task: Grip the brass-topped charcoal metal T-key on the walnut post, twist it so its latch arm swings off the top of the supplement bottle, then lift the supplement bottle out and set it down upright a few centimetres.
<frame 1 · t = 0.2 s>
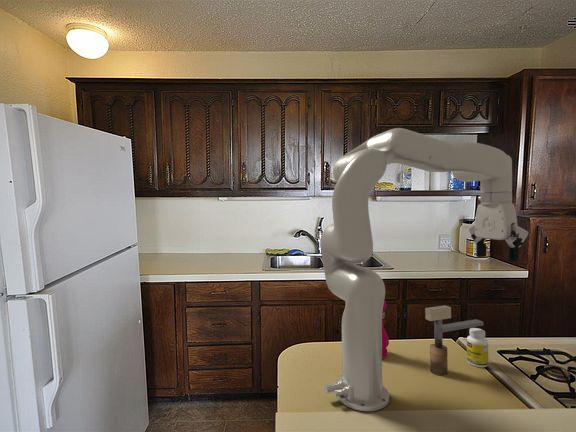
hand: (496, 259, 91), 31 cm above the worktop, tool pointing down, fingers open, 9 cm apart
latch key: (454, 324, 91), point 13 cm above the worktop, hinge at 0.0°
pepper mill: (377, 355, 100), on the worktop
supplement bottle: (477, 364, 93), on the worktop
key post: (438, 371, 89), on the worktop
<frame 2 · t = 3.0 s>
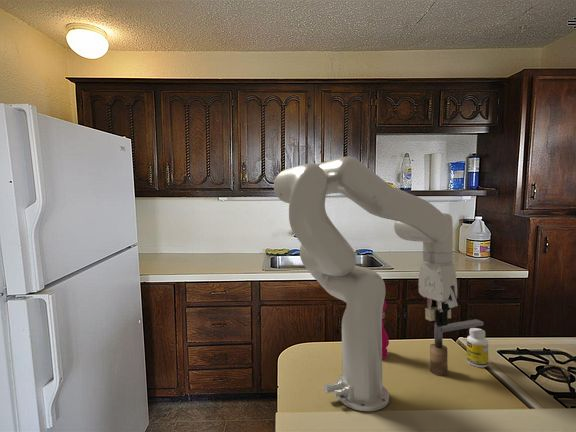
hand: (438, 323, 89), 14 cm above the worktop, tool pointing down, fingers closed on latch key, 2 cm apart
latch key: (454, 324, 91), point 13 cm above the worktop, hinge at 0.0°, touching gripper
everything else where it was.
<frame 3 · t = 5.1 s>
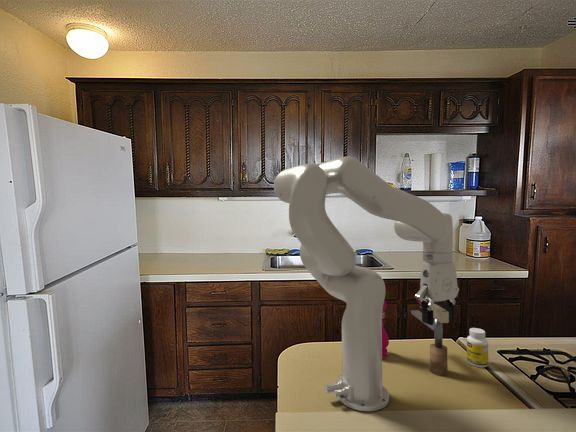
hand: (438, 320, 89), 14 cm above the worktop, tool pointing down, fingers open, 8 cm apart
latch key: (428, 319, 95), point 13 cm above the worktop, hinge at 74.8°
everything else where it was.
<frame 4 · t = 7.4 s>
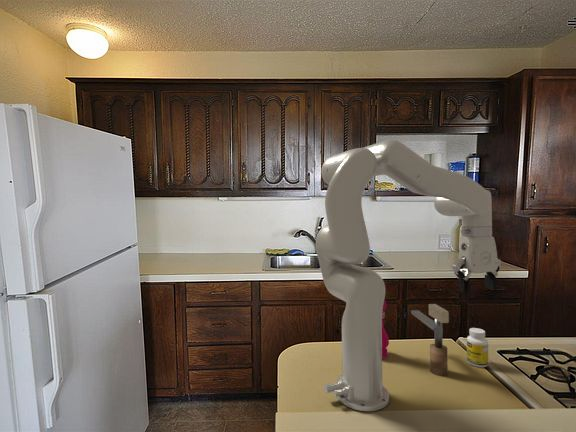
hand: (477, 291, 93), 21 cm above the worktop, tool pointing down, fingers open, 9 cm apart
nothing on the worktop moved.
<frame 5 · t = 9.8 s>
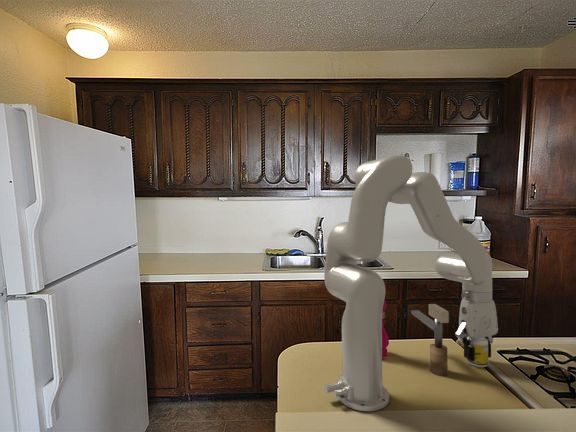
hand: (477, 356, 93), 2 cm above the worktop, tool pointing down, fingers closed on supplement bottle, 5 cm apart
supplement bottle: (477, 364, 93), on the worktop, touching gripper
everything else where it was.
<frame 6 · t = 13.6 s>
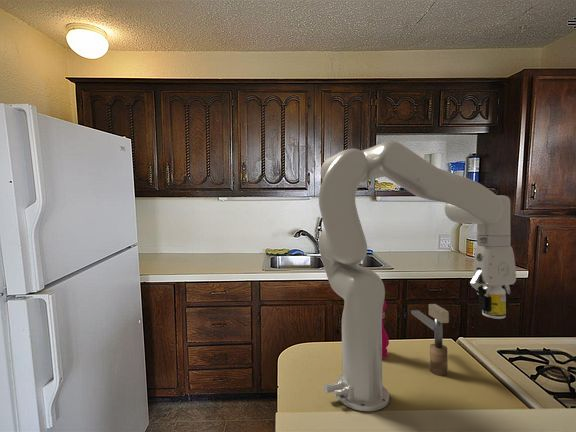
hand: (493, 308, 86), 18 cm above the worktop, tool pointing down, fingers closed on supplement bottle, 5 cm apart
supplement bottle: (493, 316, 86), point 16 cm above the worktop, touching gripper
everything else where it was.
when the fingers open (2 cm above the worktop, at t = 17.6 s): supplement bottle stays where it is, on the worktop.
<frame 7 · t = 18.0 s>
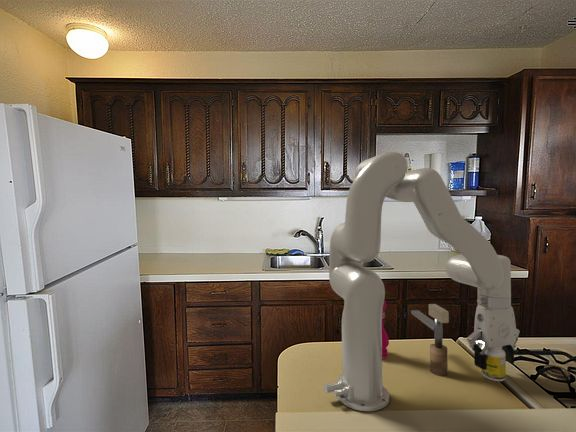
hand: (494, 364, 86), 3 cm above the worktop, tool pointing down, fingers open, 9 cm apart
supplement bottle: (493, 377, 86), on the worktop
everything else where it was.
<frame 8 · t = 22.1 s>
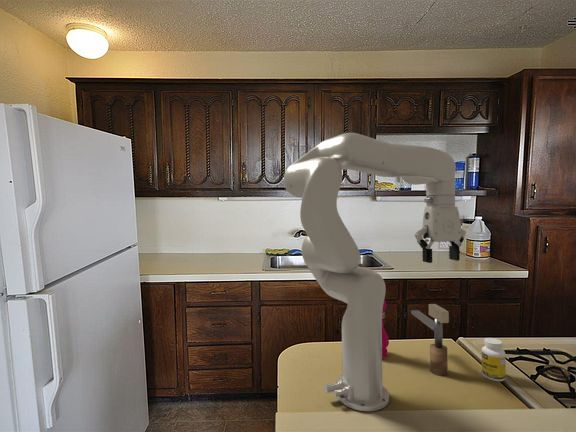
hand: (441, 261, 93), 30 cm above the worktop, tool pointing down, fingers open, 9 cm apart
nothing on the worktop moved.
at the end: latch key at +75° (first picture: +0°); supplement bottle inside the target area (0.4 cm from its centre), on the worktop; supplement bottle tilted 0° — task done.
